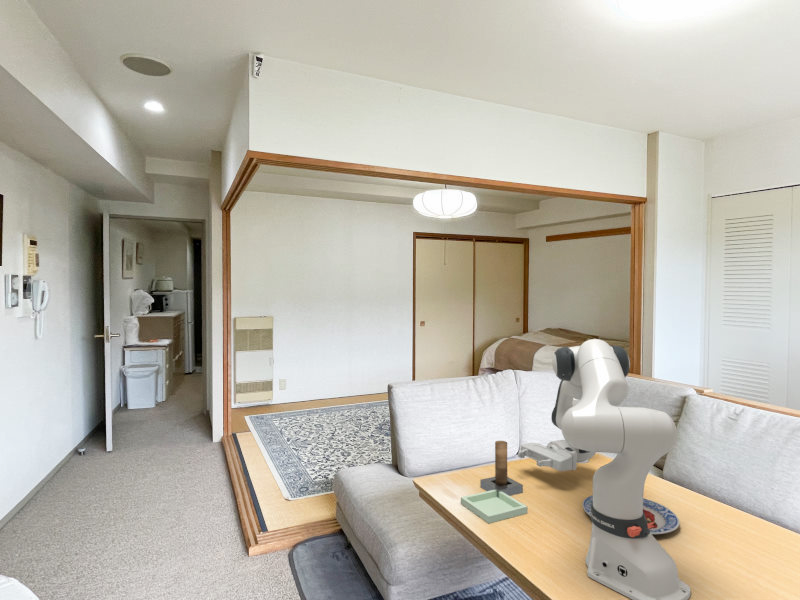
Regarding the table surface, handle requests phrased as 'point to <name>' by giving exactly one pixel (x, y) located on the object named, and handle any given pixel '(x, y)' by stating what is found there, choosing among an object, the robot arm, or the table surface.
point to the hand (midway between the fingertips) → (528, 459)
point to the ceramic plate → (650, 515)
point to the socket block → (508, 489)
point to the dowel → (501, 463)
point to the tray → (493, 506)
